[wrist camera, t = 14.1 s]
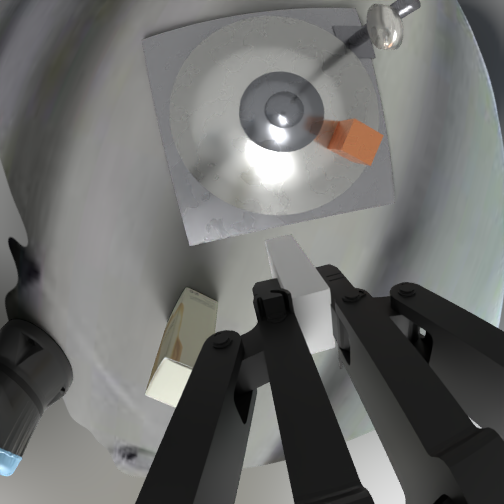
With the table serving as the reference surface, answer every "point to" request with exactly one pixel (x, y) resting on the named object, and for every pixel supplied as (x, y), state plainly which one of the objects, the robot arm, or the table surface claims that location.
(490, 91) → the table surface
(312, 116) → the cover
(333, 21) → the turntable base
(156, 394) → the skincare box
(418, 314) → the robot arm
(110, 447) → the table surface
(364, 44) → the post
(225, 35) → the platter
